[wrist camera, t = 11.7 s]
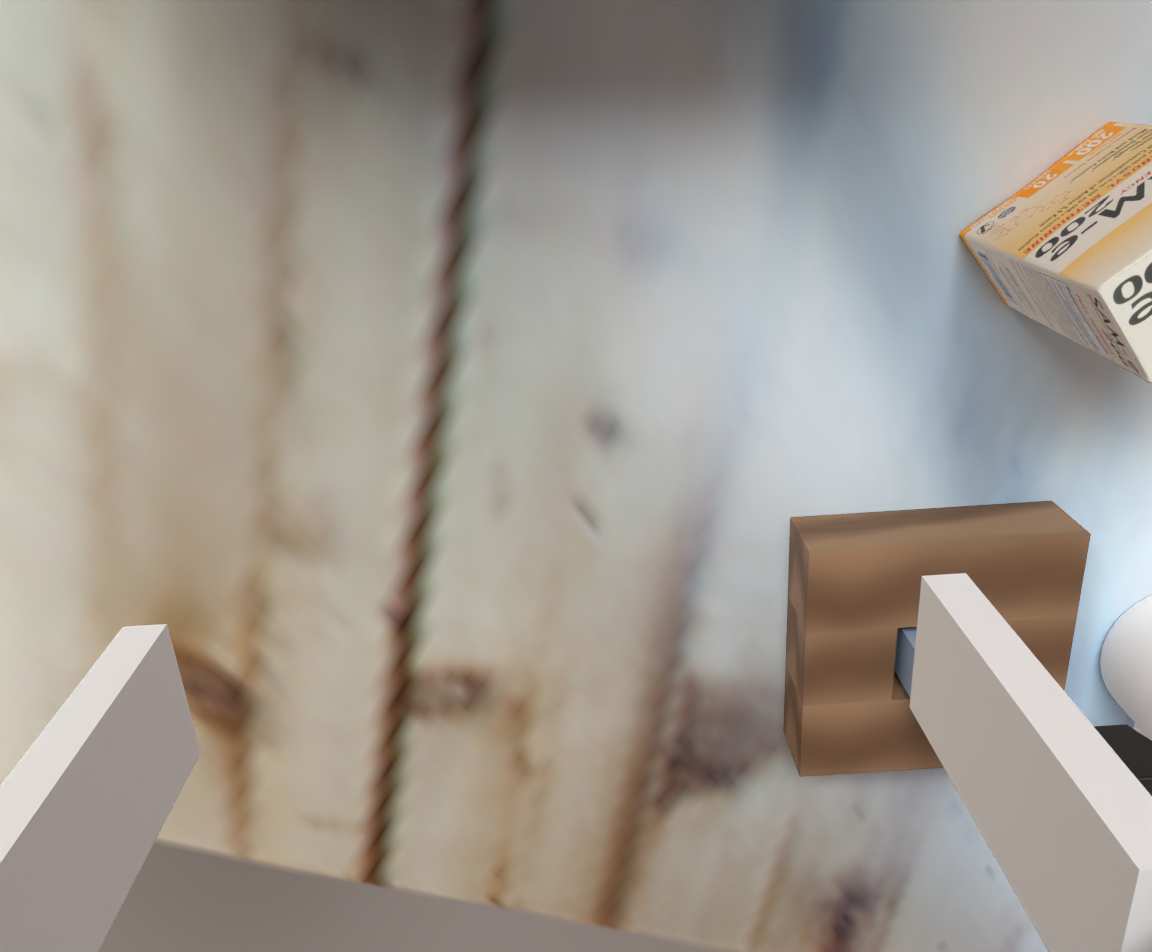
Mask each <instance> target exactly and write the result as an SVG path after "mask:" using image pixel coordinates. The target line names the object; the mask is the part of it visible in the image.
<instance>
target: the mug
mask: <svg viewBox="0 0 1152 952" xmlns="http://www.w3.org/2000/svg"><path fill="white" fill-rule="evenodd" d="M1100 666H1101V674H1102V678H1103V681H1104V683H1105V685H1106V687H1107V689H1108V691H1109V692H1110V694H1111V695H1112V697H1113V698H1114V699H1115V700H1116V702H1117V703H1118V704H1119V705H1120V707H1121V708H1122V709H1123V710H1124V711H1125V712H1126V713H1127V714H1128V716H1129V717H1130V718H1131V719H1132V720H1133V721H1134V722H1135V724H1134V727H1133V729H1134V730H1136V731H1137V732H1139V733H1141V734H1142V735H1144V736H1145V737H1147V738H1148V739H1150V740H1152V595H1149V596H1147V597H1145V598H1144V599H1142V600H1140V601H1139V602H1137V603H1135V604H1134V605H1133V606H1131V607H1130V608H1129V609H1128V610H1127V611H1126V612H1124V613H1123V614H1122V615H1121V616H1120V617H1119V619H1118V620H1117V621H1116V622H1115V623H1114V625H1113V626H1112V628H1111V629H1110V630H1109V632H1108V634H1107V636H1106V638H1105V641H1104V643H1103V646H1102V650H1101V658H1100Z"/></svg>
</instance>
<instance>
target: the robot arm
mask: <svg viewBox="0 0 1152 952" xmlns="http://www.w3.org/2000/svg"><path fill="white" fill-rule="evenodd" d="M910 709H911V710H912V712H913V714H914V716H915V718H916V719H917V721H918V723H919V725H920V726H921V728H922V730H923V732H924V733H925V735H926V737H927V739H928V740H929V742H930V744H931V746H932V747H933V749H934V751H935V753H936V755H937V756H938V758H939V760H940V762H941V763H942V765H943V767H944V769H945V770H946V772H947V774H948V776H949V777H950V779H951V781H952V783H953V784H954V786H955V788H956V790H957V792H958V793H959V795H960V797H961V799H962V800H963V802H964V804H965V806H966V807H967V809H968V811H969V813H970V814H971V816H972V818H973V820H974V822H975V823H976V825H977V827H978V829H979V830H980V832H981V834H982V836H983V837H984V839H985V841H986V843H987V844H988V846H989V848H990V850H991V851H992V853H993V855H994V857H995V859H996V860H997V862H998V864H999V866H1000V867H1001V869H1002V871H1003V873H1004V874H1005V876H1006V878H1007V880H1008V881H1009V883H1010V885H1011V887H1012V888H1013V890H1014V892H1015V894H1016V896H1017V897H1018V899H1019V901H1020V903H1021V904H1022V906H1023V908H1024V910H1025V911H1026V913H1027V915H1028V917H1029V918H1030V920H1031V922H1032V924H1033V925H1034V927H1035V929H1036V931H1037V933H1038V934H1039V936H1040V938H1041V940H1042V941H1043V943H1044V945H1045V947H1046V948H1047V950H1048V952H1152V740H1150V739H1148V738H1147V737H1145V736H1144V735H1142V734H1141V733H1139V732H1137V731H1136V730H1134V729H1133V728H1131V727H1129V726H1128V725H1112V726H1096V727H1094V726H1093V725H1092V724H1091V723H1090V722H1089V720H1088V719H1087V718H1086V717H1085V716H1084V714H1083V713H1082V712H1081V711H1080V710H1079V708H1078V707H1077V706H1076V705H1075V704H1074V702H1073V701H1072V700H1071V699H1070V698H1069V696H1068V695H1067V694H1066V693H1065V692H1064V690H1063V689H1062V688H1061V687H1060V686H1059V684H1058V683H1057V682H1056V681H1055V680H1054V678H1053V677H1052V676H1051V675H1050V674H1049V672H1048V671H1047V670H1046V669H1045V668H1044V666H1043V665H1042V664H1041V663H1040V662H1039V660H1038V659H1037V658H1036V657H1035V656H1034V654H1033V653H1032V652H1031V651H1030V650H1029V648H1028V647H1027V646H1026V645H1025V644H1024V642H1023V641H1022V640H1021V639H1020V638H1019V636H1018V635H1017V634H1016V633H1015V631H1014V630H1013V629H1012V628H1011V627H1010V625H1009V624H1008V623H1007V622H1006V621H1005V619H1004V618H1003V617H1002V616H1001V615H1000V613H999V612H998V611H997V610H996V609H995V607H994V606H993V605H992V604H991V603H990V601H989V600H988V599H987V598H986V597H985V595H984V594H983V593H982V592H981V591H980V589H979V588H978V587H977V586H976V585H975V583H974V582H973V581H972V580H971V579H970V577H969V576H968V575H967V574H966V573H959V574H944V575H928V576H922V579H921V590H920V601H919V611H918V622H917V633H916V643H915V654H914V665H913V675H912V686H911V697H910ZM199 754H200V748H199V744H198V740H197V736H196V733H195V729H194V725H193V721H192V717H191V714H190V710H189V706H188V702H187V698H186V695H185V691H184V687H183V683H182V679H181V676H180V672H179V668H178V664H177V660H176V656H175V653H174V649H173V645H172V641H171V637H170V634H169V630H168V626H167V624H160V625H144V626H128V627H122V629H121V630H120V631H119V633H118V634H117V635H116V636H115V638H114V639H113V640H112V642H111V643H110V644H109V646H108V647H107V648H106V649H105V651H104V652H103V653H102V655H101V656H100V657H99V658H98V660H97V661H96V662H95V664H94V665H93V666H92V668H91V669H90V670H89V671H88V673H87V674H86V675H85V677H84V678H83V679H82V680H81V682H80V683H79V684H78V686H77V687H76V688H75V690H74V691H73V692H72V693H71V695H70V696H69V697H68V699H67V700H66V701H65V702H64V704H63V705H62V706H61V708H60V709H59V710H58V711H57V713H56V714H55V715H54V717H53V718H52V719H51V721H50V722H49V723H48V724H47V726H46V727H45V728H44V730H43V731H42V732H41V733H40V735H39V736H38V737H37V739H36V740H35V741H34V743H33V744H32V745H31V746H30V748H29V749H28V750H27V752H26V753H25V754H24V755H23V757H22V758H21V759H20V761H19V762H18V763H17V765H16V766H15V767H14V768H13V770H12V771H11V772H10V774H9V775H8V776H7V777H6V779H5V780H4V781H3V783H2V784H1V785H0V952H98V950H99V948H100V946H101V944H102V942H103V941H104V939H105V937H106V935H107V933H108V931H109V929H110V927H111V925H112V923H113V921H114V919H115V917H116V915H117V913H118V911H119V909H120V908H121V906H122V903H123V902H124V900H125V898H126V896H127V894H128V892H129V890H130V888H131V886H132V884H133V882H134V880H135V879H136V877H137V875H138V873H139V871H140V868H141V867H142V865H143V863H144V861H145V859H146V857H147V855H148V853H149V851H150V849H151V847H152V845H153V844H154V842H155V840H156V838H157V836H158V834H159V832H160V830H161V828H162V826H163V824H164V822H165V820H166V818H167V816H168V815H169V813H170V811H171V809H172V807H173V805H174V803H175V801H176V799H177V797H178V795H179V793H180V791H181V789H182V787H183V785H184V783H185V782H186V780H187V778H188V776H189V774H190V772H191V770H192V768H193V766H194V764H195V762H196V760H197V758H198V756H199Z"/></svg>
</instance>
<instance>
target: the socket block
mask: <svg viewBox="0 0 1152 952" xmlns="http://www.w3.org/2000/svg"><path fill="white" fill-rule="evenodd" d="M1090 535H1091V534H1090V533H1089V532H1088V531H1086V530H1085V529H1084V528H1083V527H1082V526H1081V525H1079V524H1078V523H1077V522H1076V521H1075V520H1073V519H1072V518H1071V517H1070V516H1069V515H1068V514H1066V513H1065V512H1064V511H1063V510H1062V509H1061V508H1059V507H1058V506H1057V505H1056V504H1055V503H1054V502H1052V501H1042V502H1026V503H1010V504H995V505H979V506H963V507H947V508H932V509H916V510H900V511H884V512H869V513H853V514H837V515H821V516H806V517H791V519H790V550H789V581H788V612H787V643H786V674H785V705H784V733H785V736H786V739H787V742H788V744H789V747H790V750H791V753H792V756H793V759H794V761H795V764H796V767H797V770H798V773H799V775H800V777H802V776H818V775H833V774H849V773H865V772H881V771H896V770H912V769H928V768H944V767H943V765H942V763H941V762H940V760H939V758H938V756H937V755H936V753H935V751H934V749H933V747H932V746H931V744H930V742H929V740H928V739H927V737H926V735H925V733H924V732H923V730H922V728H921V726H920V725H919V723H918V721H917V719H916V718H915V716H914V714H913V712H912V710H911V709H910V697H909V695H908V693H907V691H906V690H905V688H904V686H903V685H902V683H901V681H900V679H899V678H898V676H897V674H896V672H895V671H894V666H895V654H896V642H897V631H898V628H904V627H917V622H918V611H919V601H920V590H921V579H922V576H928V575H944V574H959V573H966V574H967V575H968V576H969V577H970V579H971V580H972V581H973V582H974V583H975V585H976V586H977V587H978V588H979V589H980V591H981V592H982V593H983V594H984V595H985V597H986V598H987V599H988V600H989V601H990V603H991V604H992V605H993V606H994V607H995V609H996V610H997V611H998V612H999V613H1000V615H1001V616H1002V617H1003V618H1004V619H1005V621H1006V622H1007V623H1008V624H1009V625H1010V627H1011V628H1012V629H1013V630H1014V631H1015V633H1016V634H1017V635H1018V636H1019V638H1020V639H1021V640H1022V641H1023V642H1024V644H1025V645H1026V646H1027V647H1028V648H1029V650H1030V651H1031V652H1032V653H1033V654H1034V656H1035V657H1036V658H1037V659H1038V660H1039V662H1040V663H1041V664H1042V665H1043V666H1044V668H1045V669H1046V670H1047V671H1048V672H1049V674H1050V675H1051V676H1052V677H1053V678H1054V680H1055V681H1056V682H1057V683H1058V684H1059V686H1060V687H1061V688H1062V689H1063V690H1064V688H1065V683H1066V677H1067V671H1068V665H1069V659H1070V653H1071V647H1072V641H1073V635H1074V629H1075V623H1076V617H1077V612H1078V606H1079V600H1080V594H1081V588H1082V582H1083V576H1084V570H1085V564H1086V558H1087V552H1088V547H1089V541H1090Z"/></svg>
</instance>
